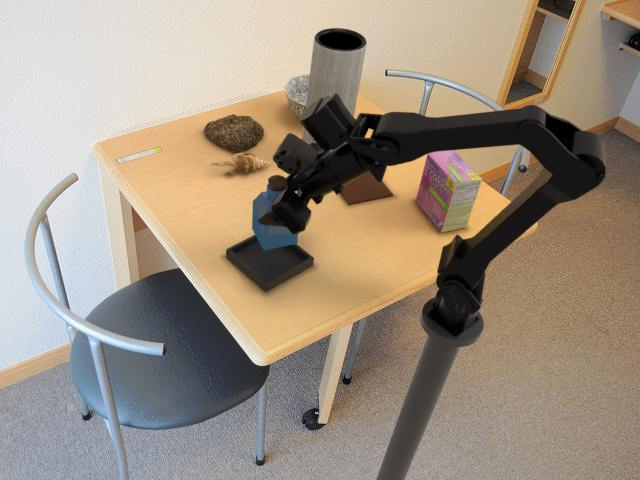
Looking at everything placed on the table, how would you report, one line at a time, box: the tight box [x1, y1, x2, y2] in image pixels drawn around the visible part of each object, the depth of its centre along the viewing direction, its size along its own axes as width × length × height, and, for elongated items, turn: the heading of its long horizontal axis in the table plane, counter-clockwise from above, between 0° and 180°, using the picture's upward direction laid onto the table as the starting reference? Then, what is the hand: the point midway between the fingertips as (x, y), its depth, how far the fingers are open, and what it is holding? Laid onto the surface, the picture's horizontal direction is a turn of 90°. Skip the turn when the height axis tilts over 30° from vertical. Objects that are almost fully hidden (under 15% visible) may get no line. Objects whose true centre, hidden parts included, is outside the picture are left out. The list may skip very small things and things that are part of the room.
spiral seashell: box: [207, 151, 273, 177], centre depth 137 cm, size 14×5×4 cm, turn 127°
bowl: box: [283, 73, 310, 118], centre depth 152 cm, size 16×16×8 cm
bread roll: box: [203, 113, 265, 153], centre depth 147 cm, size 13×12×5 cm
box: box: [415, 150, 483, 233], centre depth 126 cm, size 10×6×12 cm, turn 17°
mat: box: [339, 172, 394, 206], centre depth 136 cm, size 10×10×1 cm
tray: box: [225, 234, 315, 293], centre depth 118 cm, size 11×11×2 cm
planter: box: [301, 27, 368, 151], centre depth 134 cm, size 10×10×27 cm
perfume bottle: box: [251, 174, 299, 251], centre depth 112 cm, size 6×6×12 cm
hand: (268, 206), depth 112 cm, fingers closed on perfume bottle, 9 cm apart
